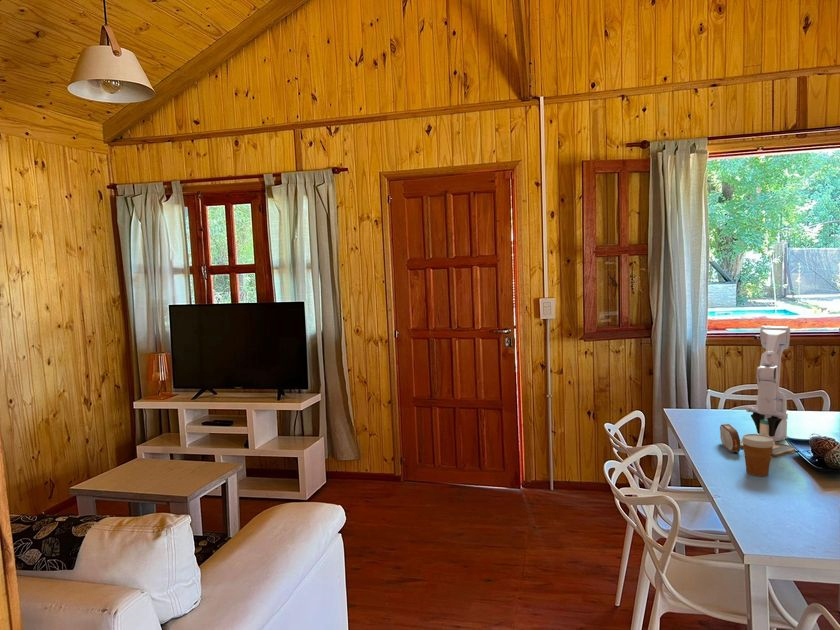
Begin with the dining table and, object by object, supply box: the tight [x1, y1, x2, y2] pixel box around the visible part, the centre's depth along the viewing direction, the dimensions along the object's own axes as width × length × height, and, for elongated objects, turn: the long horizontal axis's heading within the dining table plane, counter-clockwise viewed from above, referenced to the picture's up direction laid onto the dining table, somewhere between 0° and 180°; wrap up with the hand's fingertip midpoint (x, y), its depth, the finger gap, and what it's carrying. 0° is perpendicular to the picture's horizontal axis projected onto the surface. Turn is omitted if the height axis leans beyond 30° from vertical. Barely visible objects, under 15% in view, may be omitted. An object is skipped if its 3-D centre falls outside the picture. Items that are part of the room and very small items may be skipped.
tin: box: [719, 423, 741, 453], centre depth 225 cm, size 15×3×8 cm, turn 170°
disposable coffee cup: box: [741, 433, 776, 477], centre depth 199 cm, size 10×10×12 cm
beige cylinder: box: [760, 419, 770, 437], centre depth 223 cm, size 4×4×7 cm
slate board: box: [740, 440, 796, 459], centre depth 224 cm, size 14×16×1 cm
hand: (765, 434), depth 224 cm, fingers closed on beige cylinder, 4 cm apart
